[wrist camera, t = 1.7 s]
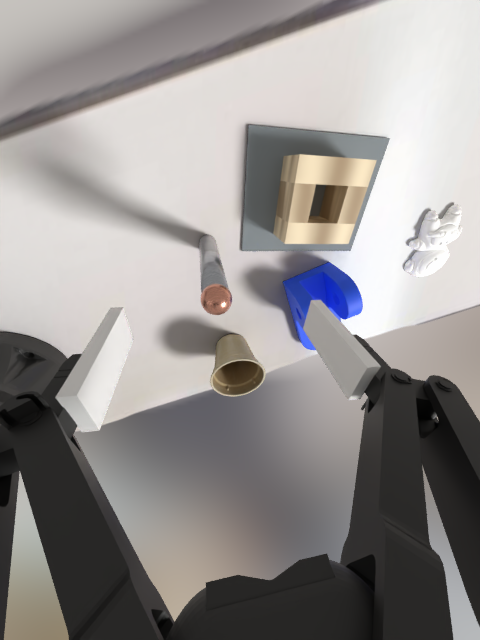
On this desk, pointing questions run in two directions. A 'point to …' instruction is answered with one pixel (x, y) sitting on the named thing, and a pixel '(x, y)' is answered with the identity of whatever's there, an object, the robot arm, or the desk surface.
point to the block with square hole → (338, 202)
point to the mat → (266, 174)
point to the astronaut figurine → (434, 242)
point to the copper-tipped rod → (213, 278)
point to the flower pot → (235, 367)
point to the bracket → (322, 296)
